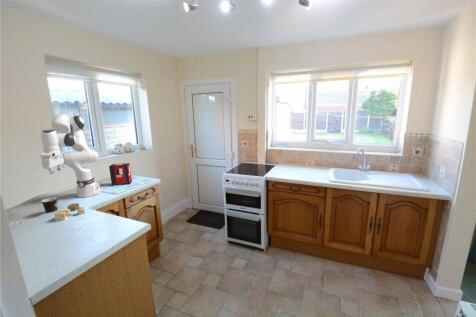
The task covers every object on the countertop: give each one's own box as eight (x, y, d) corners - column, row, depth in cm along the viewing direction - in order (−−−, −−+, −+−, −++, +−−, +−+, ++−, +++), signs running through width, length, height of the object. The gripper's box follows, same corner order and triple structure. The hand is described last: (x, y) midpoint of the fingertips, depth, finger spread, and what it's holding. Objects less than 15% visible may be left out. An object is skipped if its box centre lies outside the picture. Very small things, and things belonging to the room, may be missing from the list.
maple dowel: (80, 212, 158) (79, 207, 157) (86, 212, 158) (85, 206, 158) (76, 215, 154) (75, 209, 153) (82, 214, 155) (81, 209, 154)
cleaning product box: (132, 181, 231) (129, 163, 226) (129, 184, 222) (127, 165, 218) (114, 183, 227) (112, 164, 223) (111, 185, 219) (109, 166, 215)
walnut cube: (73, 209, 166) (71, 203, 165) (79, 209, 166) (78, 203, 165) (68, 212, 161) (67, 206, 160) (75, 212, 161) (74, 206, 160)
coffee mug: (50, 215, 157) (48, 202, 155) (41, 214, 159) (38, 201, 157) (66, 208, 168) (63, 196, 166) (57, 207, 170) (54, 195, 168)
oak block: (62, 216, 153) (60, 209, 152) (71, 215, 153) (69, 209, 152) (55, 220, 147) (54, 213, 146) (65, 219, 147) (63, 213, 146)
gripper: (55, 151, 164) (58, 169, 167) (38, 155, 145) (42, 176, 147) (64, 150, 166) (67, 168, 168) (49, 155, 146) (53, 175, 149)
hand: (55, 172), depth 158 cm, fingers open, 8 cm apart
